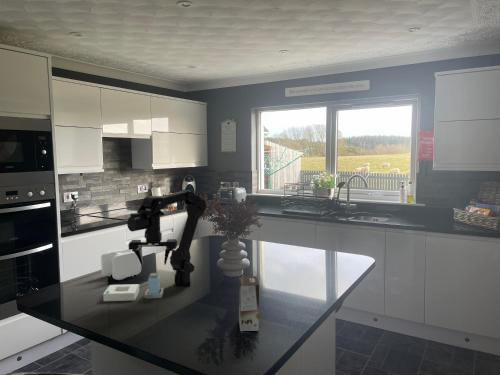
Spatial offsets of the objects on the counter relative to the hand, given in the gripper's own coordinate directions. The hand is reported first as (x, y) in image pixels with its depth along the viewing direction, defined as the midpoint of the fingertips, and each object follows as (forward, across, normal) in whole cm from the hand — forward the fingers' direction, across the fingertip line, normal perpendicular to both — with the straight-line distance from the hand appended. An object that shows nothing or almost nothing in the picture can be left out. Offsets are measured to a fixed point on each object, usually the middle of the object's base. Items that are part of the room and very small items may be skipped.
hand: (153, 264), depth 158 cm
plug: (+13, 0, 0) cm, 13 cm away
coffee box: (+13, -36, +31) cm, 49 cm away
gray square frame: (+13, 0, 0) cm, 13 cm away
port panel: (+13, +13, 0) cm, 18 cm away
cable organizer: (+13, +19, -26) cm, 35 cm away
